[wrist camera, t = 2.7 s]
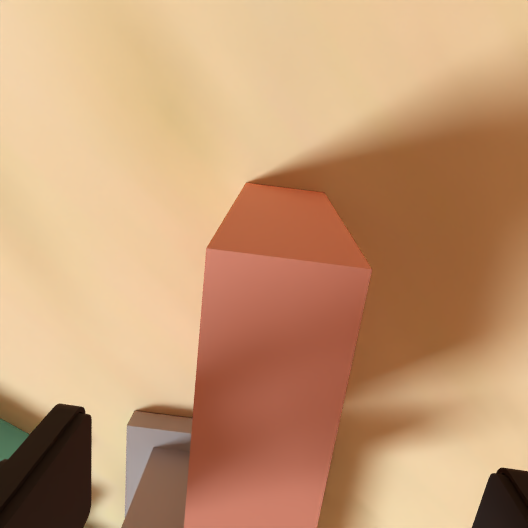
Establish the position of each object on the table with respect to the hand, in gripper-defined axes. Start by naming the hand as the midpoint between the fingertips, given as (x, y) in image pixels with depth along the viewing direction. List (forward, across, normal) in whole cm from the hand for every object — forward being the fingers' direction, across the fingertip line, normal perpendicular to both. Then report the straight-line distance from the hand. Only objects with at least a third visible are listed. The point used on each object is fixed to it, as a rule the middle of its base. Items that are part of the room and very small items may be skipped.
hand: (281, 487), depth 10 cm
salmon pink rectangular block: (+8, +1, -1) cm, 9 cm away
